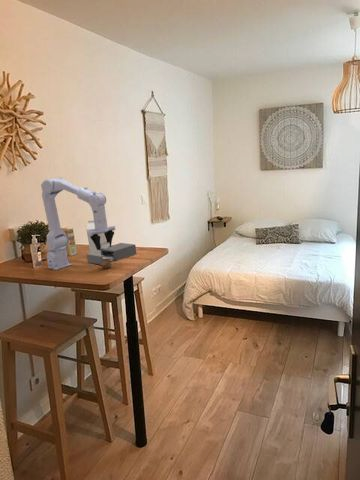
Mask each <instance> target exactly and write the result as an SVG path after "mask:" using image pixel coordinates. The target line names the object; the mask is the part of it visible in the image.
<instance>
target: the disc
mask: <svg viewBox="0 0 360 480" xmlns="http://www.w3.org/2000/svg"><path fill="white" fill-rule="evenodd" d="M109 246H110V243H109V242H102V243H100V247H101V248H106V247H109Z"/></svg>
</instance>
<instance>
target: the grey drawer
mask: <svg viewBox="0 0 360 480" xmlns="http://www.w3.org/2000/svg"><path fill="white" fill-rule="evenodd" d="M107 258H108V259H110V262H113V261H114V255H113V253H108V254H105V255H102V256H99V255H93V254H90V253H87V254H86V259H87V263H89V264H90V263H91V264H94V265H95V264H96V265H100V266H102V259H107Z"/></svg>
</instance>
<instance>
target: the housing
mask: <svg viewBox="0 0 360 480" xmlns="http://www.w3.org/2000/svg"><path fill="white" fill-rule="evenodd" d="M100 251H101V256H102V255H105V254H108V253H113V255H114V260H113V261H115V262H116V261H120V260H122V259H126V258H129V257H132V256H135V255H137V246H136V244H134V243H125V242H119V243H115V244H111V247H106V248H101V250H100Z"/></svg>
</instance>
